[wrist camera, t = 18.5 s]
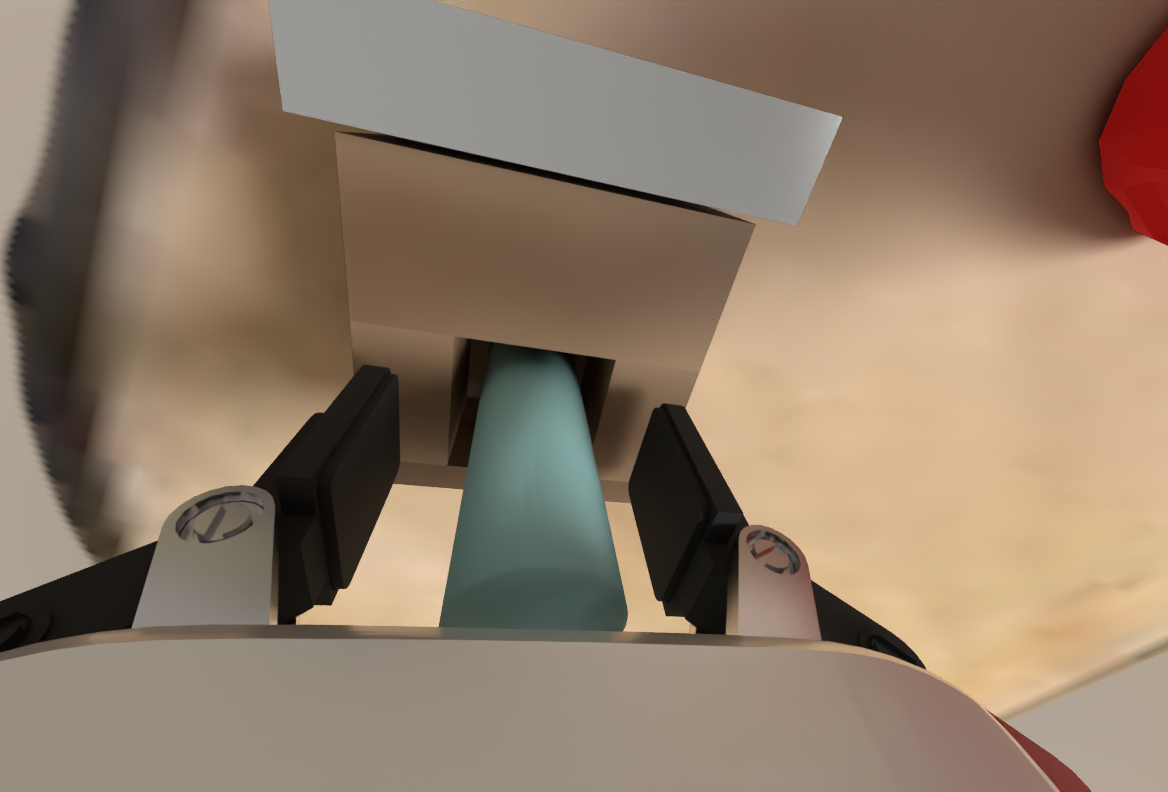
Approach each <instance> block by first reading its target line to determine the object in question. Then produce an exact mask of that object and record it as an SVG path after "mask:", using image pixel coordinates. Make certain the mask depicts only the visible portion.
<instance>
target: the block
mask: <svg viewBox="0 0 1168 792" xmlns="http://www.w3.org/2000/svg"><path fill="white" fill-rule="evenodd" d="M335 143H336V156H337V168H338V180H339V193H340V205H341V217H342V230H343V242H344V254H345V267H346V279H347V292H348V304H349V316H350V329H351V341H352V353H353V366H354V375H355V374H356V373H357V371H358V370H359V369H360V368H361V366H362V365H373V366H380V367H388V368H389V369H390V371H391V374H397V375H398V380H399V425H400V466H399V470H398V473H397V476H396V478H395V480H394V483H393V484H404V485H416V486H428V487H441V488H453V489H464V484H465V479H466V473H467V468H468V462H469V457H470V451H471V446H472V440H473V435H474V429H475V423H476V418H477V412H478V407H479V401H480V396H481V390H482V385H483V379H484V374H485V368H486V363H487V357H488V352H489V346H490V342H497V343H504V344H511V345H518V346H524V347H531V348H538V349H545V350H552V351H559V352H565V353H572V354H573V357H574V362H575V367H576V371H577V376H578V381H579V385H580V390H581V395H582V399H583V404H584V409H585V413H586V418H587V423H588V427H589V432H590V437H591V441H592V446H593V451H594V455H595V460H596V465H597V469H598V474H599V479H600V483H601V488H602V493H603V497H604V501H611V502H623V503H631V501H630V497H629V492H628V484H629V479H630V476H631V473H632V470H633V467H634V465H635V462H636V459H637V456H638V453H639V450H640V447H641V444H642V441H643V438H644V435H645V432H646V429H647V426H648V423H649V420H650V417H651V414H652V411H653V409H654V408H655V407H657V408H659V407H660V406H661V404H663V403H666V404H674V405H681V406H684V407H685V408H686V406H687V403H688V400H689V398H690V395H691V392H692V390H693V387H694V385H695V382H696V379H697V377H698V374H699V371H700V369H701V366H702V364H703V361H704V358H705V356H706V353H707V350H708V348H709V345H710V343H711V340H712V337H713V335H714V332H715V329H716V327H717V324H718V322H719V319H720V316H721V314H722V311H723V309H724V306H725V303H726V301H727V298H728V295H729V293H730V290H731V288H732V285H733V282H734V280H735V277H736V274H737V272H738V269H739V267H740V264H741V261H742V259H743V256H744V253H745V251H746V248H747V246H748V243H749V240H750V238H751V235H752V232H753V230H754V227H755V225H756V224H753V223H751V222H748V221H745V220H742V219H740V218H737V217H734V216H732V215H729V214H726V213H723V212H721V211H718V210H715V209H713V208H710V207H707V206H704V205H700V204H695V203H691V202H686V201H682V200H678V199H673V198H669V197H664V196H660V195H655V194H651V193H646V192H642V191H637V190H633V189H628V188H624V187H620V186H615V185H611V184H606V183H602V182H597V181H593V180H588V179H584V178H579V177H575V176H570V175H566V174H562V173H557V172H553V171H548V170H544V169H539V168H535V167H530V166H526V165H521V164H517V163H512V162H508V161H504V160H499V159H495V158H490V157H486V156H481V155H477V154H472V153H468V152H463V151H459V150H454V149H450V148H446V147H441V146H437V145H432V144H428V143H423V142H419V141H414V140H410V139H405V138H401V137H396V136H392V135H382V134H366V133H351V132H335Z"/></svg>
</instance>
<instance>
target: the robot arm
mask: <svg viewBox="0 0 1168 792" xmlns="http://www.w3.org/2000/svg"><path fill="white" fill-rule="evenodd" d="M399 466H400V425H399V380H398V375H397V374H391V371H390V369H389V368H388V367H380V366H373V365H362V366H361V368H360V369H359V370H358V371H357V373H356V374H355V375H354V376H353V378H352V379H351V380H350V381H349V383H348V384H347V385H346V386H345V388H344V389H343V390H342V391H341V393H340V394H339V395H338V396H337V398H336V399H335V400H334V401H333V403H332V404H331V405H330V406H329V408H328V409H327V410H326V411H325V413H315V414H314V415H313V416H311V417H310V419H309V420H308V421H307V422H306V423H305V425H304V426H303V427H302V428H301V429H300V431H299V432H298V433H297V434H296V435H295V436H294V438H293V439H292V440H291V441H290V442H289V444H288V445H287V446H286V447H285V448H284V450H283V451H282V452H281V453H280V454H279V456H278V457H277V458H276V459H275V460H274V462H273V463H272V464H271V465H270V466H269V467H268V469H267V470H266V471H265V472H264V473H263V475H262V476H261V477H260V478H259V479H258V481H257V482H256V483H255V484H254V485H253V486H244V485H240V486H227V487H223V488H219V489H214V490H210V491H208V492H205V493H203V494H200V495H198V496H195V497H193V498H192V499H190V500H188V501H187V502H185V503H183V504H182V505H180V506H179V507H178V508H177V509H175V510H174V511H173V512H172V513H171V514H170V515H169V516H168V518H167V519H166V521H165V523H164V525H163V526H162V529H161V533H160V536H159V539H158V541H156V542H153V543H150V544H148V545H145V546H143V547H140V548H137V549H135V550H132V551H130V552H127V553H124V554H122V555H119V556H117V557H114V558H111V559H109V560H106V561H104V562H101V563H98V564H96V565H93V566H91V567H88V568H86V569H83V570H80V571H78V572H75V573H73V574H70V575H67V576H65V577H62V578H60V579H57V580H54V581H52V582H49V583H46V584H44V585H41V586H39V587H36V588H34V589H31V590H28V591H26V592H23V593H21V594H18V595H15V596H13V597H10V598H8V599H5V600H2V601H0V792H1091V790H1090V789H1089V788H1088V787H1087V786H1086V785H1085V784H1084V783H1083V782H1082V781H1081V779H1080V778H1078V776H1077V775H1076V774H1075V773H1074V772H1073V771H1072V770H1071V769H1069V768H1068V767H1067V766H1066V765H1064V764H1063V763H1062V762H1061V761H1059V760H1058V759H1057V758H1056V757H1054V756H1053V755H1052V754H1050V753H1049V752H1047V751H1046V750H1044V749H1043V748H1041V747H1040V746H1039V745H1037V744H1035V743H1034V742H1033V741H1031V740H1030V739H1028V738H1027V737H1025V736H1024V735H1022V734H1021V733H1019V732H1018V731H1017V730H1015V729H1014V728H1012V727H1011V726H1009V725H1008V724H1007V723H1005V722H1004V721H1002V720H1001V719H999V718H998V717H996V716H995V715H993V714H992V713H991V712H989V711H988V710H986V709H985V708H984V707H982V706H981V705H980V704H979V703H978V702H977V701H976V700H974V699H973V698H972V697H970V696H969V695H968V694H966V693H965V692H964V691H962V690H961V689H960V688H958V687H957V686H955V685H953V684H951V683H950V682H948V681H946V680H945V679H943V678H941V677H939V676H937V675H935V674H933V673H931V672H929V671H927V670H926V668H925V666H924V664H923V663H922V662H921V660H920V659H919V658H918V656H917V655H916V654H915V653H914V652H913V651H912V650H911V649H910V648H909V647H908V646H907V645H906V644H905V643H904V642H903V641H902V640H901V639H899V638H898V637H897V636H895V635H894V634H893V633H891V632H890V631H888V630H887V629H885V628H884V627H882V626H881V625H879V624H878V623H876V622H874V621H873V620H871V619H870V618H868V617H867V616H865V615H864V614H862V613H861V612H859V611H858V610H856V609H855V608H853V607H851V606H850V605H848V604H847V603H845V602H844V601H842V600H841V599H839V598H838V597H836V596H835V595H833V594H832V593H830V592H829V591H827V590H825V589H824V588H822V587H821V586H819V585H818V584H816V583H815V582H813V581H812V580H811V578H810V573H809V567H808V564H807V561H806V558H805V556H804V554H803V553H802V551H801V550H800V549H799V547H798V546H797V545H796V544H795V543H794V542H793V541H792V540H790V539H789V538H788V537H786V536H785V535H783V534H782V533H780V532H778V531H776V530H774V529H772V528H769V527H766V526H762V525H750V526H749V524H748V523H747V521H746V519H745V517H744V515H743V512H742V510H741V508H740V507H739V505H738V503H737V501H736V499H735V498H734V496H733V494H732V492H731V490H730V488H729V487H728V485H727V483H726V481H725V479H724V478H723V476H722V474H721V472H720V470H719V469H718V467H717V465H716V463H715V461H714V460H713V458H712V456H711V454H710V452H709V451H708V449H707V447H706V445H705V443H704V441H703V440H702V438H701V436H700V434H699V432H698V431H697V429H696V427H695V425H694V423H693V422H692V420H691V418H690V416H689V414H688V413H687V411H686V409H685V407H684V406H681V405H674V404H666V403H663V404H661V406H660V407H659V408H657V407H655V408H654V409H653V411H652V414H651V417H650V420H649V423H648V426H647V429H646V432H645V435H644V438H643V441H642V444H641V447H640V450H639V453H638V456H637V459H636V462H635V465H634V467H633V470H632V473H631V476H630V479H629V484H628V492H629V497H630V501H631V505H632V509H633V512H634V516H635V520H636V524H637V528H638V532H639V536H640V540H641V544H642V548H643V551H644V555H645V559H646V563H647V567H648V571H649V575H650V579H651V583H652V587H653V591H654V594H655V597H656V599H657V600H658V601H662V603H663V606H664V610H665V614H666V616H678V617H685V619H686V620H687V621H688V622H690V623H691V624H690V629H689V634H686V633H652V632H619V631H580V630H541V629H498V628H455V627H403V626H350V625H300V615H301V614H303V613H304V612H306V611H308V610H309V609H311V608H313V606H314V605H332V603H333V601H334V598H335V596H336V594H337V592H338V589H346V588H347V587H348V586H349V584H350V582H351V580H352V578H353V575H354V573H355V571H356V569H357V566H358V564H359V562H360V559H361V557H362V555H363V552H364V550H365V548H366V545H367V543H368V541H369V538H370V536H371V534H372V531H373V529H374V527H375V524H376V522H377V520H378V517H379V515H380V513H381V511H382V508H383V506H384V504H385V501H386V499H387V497H388V494H389V492H390V490H391V487H392V485H393V483H394V480H395V478H396V476H397V473H398V470H399Z"/></svg>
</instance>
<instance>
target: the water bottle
mask: <svg viewBox="0 0 1168 792" xmlns="http://www.w3.org/2000/svg"><path fill="white" fill-rule="evenodd" d="M1099 148H1100V157H1101V165H1102V174H1103V182H1104V187H1105V188H1106V189H1107V190H1108V191H1109V192H1110V193H1111V194H1112V195H1113V196H1114V197H1115V198H1116V200H1117V201H1118V202H1119V203H1120V204H1121V205H1122V206H1123V207H1124V208H1125V209H1126V210H1127V211H1128V213H1129V217H1130V222H1131V227H1132V229H1133V230H1135V231H1137V232H1139V233H1141V234H1143V235H1146V236H1148V237H1150V238H1152V239H1154V240H1156V241H1159V242H1161V243H1163V244H1165V245H1167V246H1168V27H1167V28H1166V30H1165V31H1164V32H1163V33H1162V35H1161V36H1160V37H1159V38H1158V39H1157V41H1156V42H1155V43H1154V44H1153V46H1152V47H1151V48H1150V49H1149V50H1148V52H1147V53H1146V54H1145V55H1144V57H1143V58H1142V59H1141V60H1140V62H1139V63H1138V64H1137V65H1136V66H1135V68H1134V69H1133V70H1132V71H1131V73H1130V74H1129V75H1128V76H1127V78H1126V79H1125V82H1124V84H1123V86H1122V88H1121V91H1120V93H1119V95H1118V98H1117V100H1116V102H1115V105H1114V107H1113V109H1112V112H1111V114H1110V116H1109V119H1108V121H1107V123H1106V126H1105V128H1104V130H1103V133H1102V135H1101V137H1100V140H1099Z"/></svg>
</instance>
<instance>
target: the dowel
mask: <svg viewBox="0 0 1168 792" xmlns="http://www.w3.org/2000/svg"><path fill="white" fill-rule="evenodd" d="M627 617H628V611H627V604H626V600H625V595H624V590H623V586H622V581H621V576H620V572H619V567H618V562H617V558H616V553H615V548H614V544H613V539H612V534H611V530H610V525H609V520H608V516H607V511H606V507H605V502H604V497H603V493H602V488H601V483H600V479H599V474H598V469H597V465H596V460H595V455H594V451H593V446H592V441H591V437H590V432H589V427H588V423H587V418H586V413H585V409H584V404H583V399H582V395H581V390H580V385H579V381H578V376H577V371H576V367H575V362H574V357H573V354H572V353H565V352H559V351H552V350H545V349H538V348H531V347H524V346H518V345H511V344H504V343H497V342H490V346H489V352H488V357H487V363H486V368H485V374H484V379H483V385H482V390H481V396H480V401H479V407H478V412H477V418H476V423H475V429H474V435H473V440H472V446H471V451H470V457H469V462H468V468H467V473H466V479H465V484H464V490H463V495H462V501H461V506H460V512H459V518H458V523H457V529H456V534H455V540H454V545H453V551H452V556H451V562H450V567H449V573H448V578H447V584H446V589H445V595H444V601H443V606H442V612H441V617H440V623H439V627H455V628H498V629H541V630H580V631H619V632H623V630H624V628H625V625H626V622H627Z"/></svg>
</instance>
